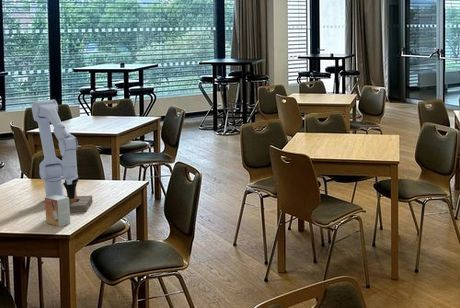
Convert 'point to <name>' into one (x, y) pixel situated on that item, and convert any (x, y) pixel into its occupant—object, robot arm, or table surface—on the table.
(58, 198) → the small box
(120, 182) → the table surface
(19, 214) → the table surface
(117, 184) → the table surface
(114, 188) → the table surface
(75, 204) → the socket block
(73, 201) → the peg
